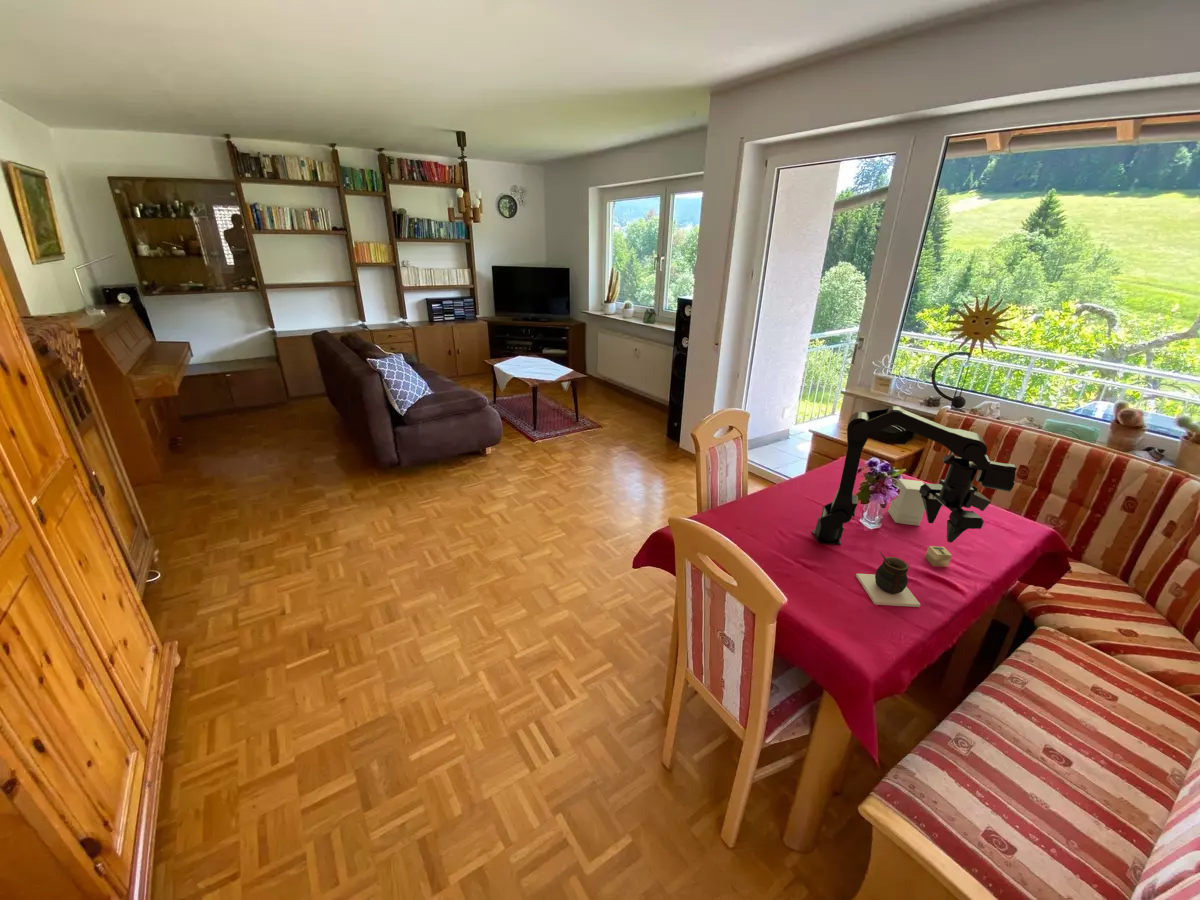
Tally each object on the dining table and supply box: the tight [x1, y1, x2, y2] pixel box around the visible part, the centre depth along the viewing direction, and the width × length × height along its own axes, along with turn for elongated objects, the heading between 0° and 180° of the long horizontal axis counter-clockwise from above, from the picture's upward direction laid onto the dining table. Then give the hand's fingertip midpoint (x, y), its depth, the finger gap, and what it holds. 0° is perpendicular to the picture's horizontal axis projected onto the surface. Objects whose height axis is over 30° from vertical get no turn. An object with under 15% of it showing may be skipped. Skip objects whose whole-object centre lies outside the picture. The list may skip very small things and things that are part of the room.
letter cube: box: [924, 545, 953, 568], centre depth 138 cm, size 4×4×4 cm
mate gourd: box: [874, 552, 910, 595], centre depth 125 cm, size 7×8×10 cm
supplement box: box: [888, 478, 926, 527], centre depth 157 cm, size 7×7×13 cm
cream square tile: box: [855, 573, 921, 608], centre depth 127 cm, size 11×11×1 cm
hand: (939, 532), depth 132 cm, fingers open, 9 cm apart
